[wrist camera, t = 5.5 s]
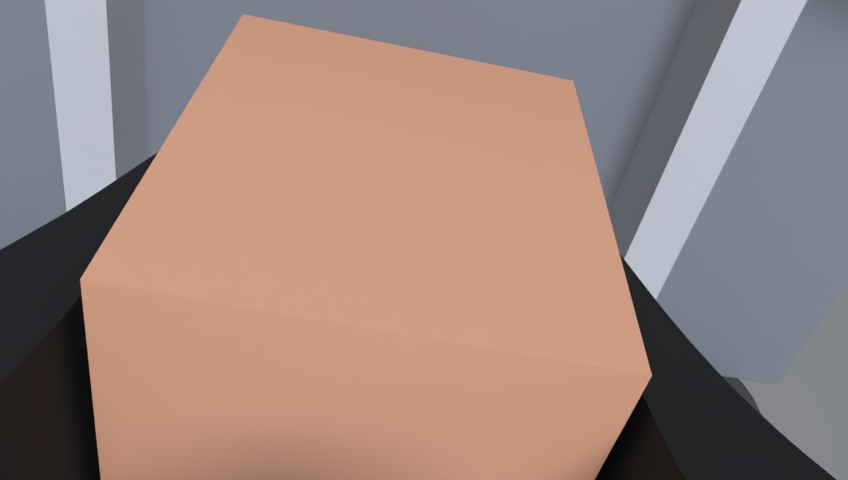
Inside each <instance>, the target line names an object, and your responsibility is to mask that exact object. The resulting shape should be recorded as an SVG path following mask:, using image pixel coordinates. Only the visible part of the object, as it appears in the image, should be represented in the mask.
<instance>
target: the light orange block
mask: <svg viewBox="0 0 848 480" xmlns="http://www.w3.org/2000/svg"><path fill="white" fill-rule="evenodd" d="M80 283H81V293H82V303H83V313H84V322H85V332H86V342H87V351H88V361H89V371H90V380H91V390H92V400H93V410H94V419H95V429H96V439H97V448H98V458H99V468H100V477H101V480H595V478H596V476H597V474H598V473H599V471H600V469H601V467H602V465H603V464H604V462H605V460H606V458H607V456H608V454H609V453H610V451H611V449H612V447H613V445H614V444H615V442H616V440H617V438H618V436H619V435H620V433H621V431H622V429H623V427H624V426H625V424H626V422H627V420H628V418H629V416H630V415H631V413H632V411H633V409H634V407H635V406H636V404H637V402H638V400H639V398H640V397H641V395H642V393H643V391H644V389H645V388H646V386H647V384H648V382H649V380H650V378H651V377H652V374H651V370H650V366H649V362H648V359H647V355H646V351H645V347H644V344H643V340H642V336H641V332H640V329H639V325H638V321H637V317H636V314H635V310H634V306H633V302H632V299H631V295H630V291H629V287H628V284H627V280H626V276H625V272H624V269H623V265H622V261H621V257H620V254H619V250H618V246H617V242H616V239H615V235H614V231H613V227H612V224H611V220H610V216H609V212H608V209H607V205H606V201H605V197H604V194H603V190H602V186H601V182H600V179H599V175H598V171H597V167H596V164H595V160H594V156H593V153H592V149H591V145H590V141H589V138H588V134H587V130H586V126H585V123H584V119H583V115H582V111H581V108H580V104H579V100H578V96H577V93H576V89H575V85H574V81H573V80H568V79H563V78H558V77H553V76H548V75H543V74H538V73H533V72H528V71H523V70H518V69H513V68H508V67H503V66H498V65H493V64H488V63H483V62H478V61H473V60H468V59H463V58H458V57H453V56H448V55H443V54H438V53H434V52H429V51H424V50H419V49H414V48H409V47H404V46H399V45H394V44H389V43H384V42H379V41H374V40H369V39H364V38H359V37H354V36H349V35H344V34H339V33H334V32H329V31H324V30H319V29H314V28H309V27H304V26H300V25H295V24H290V23H285V22H280V21H275V20H270V19H265V18H260V17H255V16H250V15H245V14H243V15H242V17H241V18H240V20H239V22H238V23H237V25H236V26H235V28H234V30H233V31H232V33H231V35H230V36H229V38H228V39H227V41H226V43H225V44H224V46H223V48H222V49H221V51H220V53H219V54H218V56H217V57H216V59H215V61H214V62H213V64H212V66H211V67H210V69H209V70H208V72H207V74H206V75H205V77H204V79H203V80H202V82H201V83H200V85H199V87H198V88H197V90H196V92H195V93H194V95H193V96H192V98H191V100H190V101H189V103H188V105H187V106H186V108H185V109H184V111H183V113H182V114H181V116H180V118H179V119H178V121H177V122H176V124H175V126H174V127H173V129H172V131H171V132H170V134H169V135H168V137H167V139H166V140H165V142H164V144H163V145H162V147H161V148H160V150H159V152H158V153H157V155H156V157H155V158H154V160H153V161H152V163H151V165H150V166H149V168H148V170H147V171H146V173H145V174H144V176H143V178H142V179H141V181H140V183H139V184H138V186H137V188H136V189H135V191H134V192H133V194H132V196H131V197H130V199H129V201H128V202H127V204H126V205H125V207H124V209H123V210H122V212H121V214H120V215H119V217H118V218H117V220H116V222H115V223H114V225H113V227H112V228H111V230H110V231H109V233H108V235H107V236H106V238H105V240H104V241H103V243H102V244H101V246H100V248H99V249H98V251H97V253H96V254H95V256H94V257H93V259H92V261H91V262H90V264H89V266H88V267H87V269H86V270H85V272H84V274H83V275H82V277H81V279H80Z"/></svg>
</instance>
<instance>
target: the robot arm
mask: <svg viewBox="0 0 848 480" xmlns="http://www.w3.org/2000/svg"><path fill="white" fill-rule="evenodd" d="M157 153H158V152H157ZM157 153H156V154H154V155H153V156H151V157H150V158H148V159H147V160H145V161H144V162H142V163H141V164H139V165H138V166H136V167H135V168H133V169H132V170H130V171H129V172H127V173H126V174H124V175H123V176H121V177H120V178H118V179H117V180H115V181H114V182H112V183H111V184H109V185H108V186H106V187H105V188H103V189H102V190H100V191H99V192H97V193H96V194H94V195H92V196H91V197H89V198H88V199H86V200H85V201H83V202H81V203H80V204H78V205H77V206H75V207H74V208H72V209H70V210H69V211H67V212H66V213H64V214H63V215H61V216H59V217H57V218H55V219H54V220H52V221H50V222H48V223H47V224H45V225H43V226H41V227H40V228H38V229H36V230H34V231H33V232H31V233H29V234H27V235H26V236H24V237H22V238H20V239H18V240H17V241H15V242H13V243H11V244H10V245H8V246H6V247H4V248H2V249H0V480H101V477H100V468H99V458H98V448H97V439H96V429H95V419H94V410H93V400H92V390H91V380H90V371H89V361H88V351H87V342H86V332H85V322H84V313H83V303H82V293H81V283H80V279H81V277H82V275H83V274H84V272H85V270H86V269H87V267H88V266H89V264H90V262H91V261H92V259H93V257H94V256H95V254H96V253H97V251H98V249H99V248H100V246H101V244H102V243H103V241H104V240H105V238H106V236H107V235H108V233H109V231H110V230H111V228H112V227H113V225H114V223H115V222H116V220H117V218H118V217H119V215H120V214H121V212H122V210H123V209H124V207H125V205H126V204H127V202H128V201H129V199H130V197H131V196H132V194H133V192H134V191H135V189H136V188H137V186H138V184H139V183H140V181H141V179H142V178H143V176H144V174H145V173H146V171H147V170H148V168H149V166H150V165H151V163H152V161H153V160H154V158H155V157H156V155H157ZM619 254H620V253H619ZM620 257H621V261H622V265H623V269H624V272H625V276H626V280H627V284H628V287H629V291H630V295H631V299H632V302H633V306H634V310H635V314H636V317H637V321H638V325H639V329H640V332H641V336H642V340H643V344H644V347H645V351H646V355H647V359H648V362H649V366H650V370H651V374H652V377H651V378H650V380H649V382H648V384H647V386H646V388H645V389H644V391H643V393H642V395H641V397H640V398H639V400H638V402H637V404H636V406H635V407H634V409H633V411H632V413H631V415H630V416H629V418H628V420H627V422H626V424H625V426H624V427H623V429H622V431H621V433H620V435H619V436H618V438H617V440H616V442H615V444H614V445H613V447H612V449H611V451H610V453H609V454H608V456H607V458H606V460H605V462H604V464H603V465H602V467H601V469H600V471H599V473H598V474H597V476H596V478H595V480H836V479H835V478H834V477H832V476H831V475H830V474H829V473H827V472H826V471H825V470H824V469H822V468H821V467H820V466H819V465H818V464H816V463H815V462H814V461H813V460H812V459H810V458H809V457H808V456H806V454H804V453H803V452H802V451H801V450H799V449H798V448H797V447H796V446H795V445H794V444H793V443H792V442H790V441H789V440H788V439H787V438H786V437H785V436H784V435H782V434H781V433H780V432H779V431H778V430H777V429H775V427H773V426H772V425H771V424H770V423H769V422H768V421H767V420H766V419H765V418H764V417H763V416H762V415H761V414H760V413H759V412H758V411H757V410H756V409H755V408H753V407H752V406H751V405H750V404H749V403H748V402H747V401H746V400H745V399H744V398H743V397H742V396H741V395H740V394H739V393H738V392H737V391H736V390H735V389H734V388H733V387H732V386H731V385H730V384H729V383H728V382H727V381H726V380H725V379H724V378H723V377H722V376H721V375H720V374H719V373H718V372H717V370H716V369H715V368H714V367H713V366H712V365H711V364H710V363H709V362H708V361H707V359H706V358H705V357H704V356H703V355H702V354H701V353H700V352H699V351H698V350H697V348H696V347H695V346H694V345H693V344H692V343H691V342H690V341H689V339H688V338H687V337H686V336H685V335H684V334H683V332H682V331H681V330H680V329H679V328H678V327H677V325H676V324H675V323H674V322H673V321H672V319H671V318H670V317H669V316H668V315H667V313H666V312H665V311H664V310H663V308H662V307H661V306H660V305H659V303H658V302H657V301H656V300H655V298H654V297H653V296H652V295H651V293H650V292H649V291H648V289H647V288H646V287H645V286H644V284H643V283H642V282H641V280H640V279H639V278H638V276H637V275H636V274H635V273H634V271H633V270H632V269H631V267H630V266H629V265H628V263H627V262H626V261H625V260H624V258H623V257H622V256H621V254H620Z"/></svg>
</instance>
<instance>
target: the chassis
mask: <svg viewBox="0 0 848 480" xmlns="http://www.w3.org/2000/svg"><path fill="white" fill-rule="evenodd" d="M243 14H245V15H250V16H255V17H260V18H265V19H270V20H275V21H280V22H285V23H290V24H295V25H300V26H304V27H309V28H314V29H319V30H324V31H329V32H334V33H339V34H344V35H349V36H354V37H359V38H364V39H369V40H374V41H379V42H384V43H389V44H394V45H399V46H404V47H409V48H414V49H419V50H424V51H429V52H434V53H438V54H443V55H448V56H453V57H458V58H463V59H468V60H473V61H478V62H483V63H488V64H493V65H498V66H503V67H508V68H513V69H518V70H523V71H528V72H533V73H538V74H543V75H548V76H553V77H558V78H563V79H568V80H573V81H574V85H575V89H576V93H577V96H578V100H579V104H580V108H581V111H582V115H583V119H584V123H585V126H586V130H587V134H588V138H589V141H590V145H591V149H592V153H593V156H594V160H595V164H596V167H597V171H598V175H599V179H600V182H601V186H602V190H603V194H604V197H605V201H606V205H607V209H608V212H609V216H610V220H611V224H612V227H613V231H614V235H615V239H616V242H617V246H618V250H619V253H620V254H621V256H622V257H623V258H624V260H625V261H626V262H627V263H628V265H629V266H630V267H631V269H632V270H633V271H634V273H635V274H636V275H637V276H638V278H639V279H640V280H641V282H642V283H643V284H644V286H645V287H646V288H647V289H648V291H649V292H650V293H651V295H652V296H653V297H654V298H655V300H656V301H657V302H658V303H659V305H660V306H661V307H662V308H663V310H664V311H665V312H666V313H667V315H668V316H669V317H670V318H671V319H672V321H673V322H674V323H675V324H676V325H677V327H678V328H679V329H680V330H681V331H682V332H683V334H684V335H685V336H686V337H687V338H688V339H689V341H690V342H691V343H692V344H693V345H694V346H695V347H696V348H697V350H698V351H699V352H700V353H701V354H702V355H703V356H704V357H705V358H706V359H707V361H708V362H709V363H710V364H711V365H712V366H713V367H714V368H715V369H716V370H717V372H718V373H719V374H720V375H721V376H722V377H723V378H724V379H725V380H726V381H727V382H728V383H729V384H730V385H731V386H732V387H733V388H734V389H735V390H736V391H737V392H738V393H739V394H740V395H741V396H742V397H743V398H744V399H745V400H746V401H747V402H748V403H749V404H750V405H751V406H752V407H753V408H755V409H756V410H757V411H758V412H759V413H760V411H759V409H758V407H757V405H756V403H755V401H754V399H753V398H752V396H751V394H750V393H749V391H748V390H747V389H746V387H745V386H744V385H743V384H742V382H741V381H740V380H739V379H743V380H749V381H755V382H761V383H767V384H772V385H777V383H778V382H779V381H780V379H781V378H782V376H783V375H784V373H785V372H786V370H787V369H788V367H789V366H790V365H791V363H792V362H793V360H794V359H795V357H796V356H797V355H798V353H799V352H800V350H801V349H802V347H803V346H804V344H805V343H806V342H807V340H808V339H809V337H810V336H811V334H812V333H813V331H814V330H815V329H816V327H817V326H818V324H819V323H820V321H821V320H822V318H823V317H824V316H825V314H826V313H827V311H828V310H829V308H830V307H831V306H832V304H833V303H834V301H835V300H836V298H837V297H838V295H839V294H840V293H841V291H842V290H843V288H844V287H845V285H846V284H847V283H848V0H0V249H2V248H4V247H6V246H8V245H10V244H11V243H13V242H15V241H17V240H18V239H20V238H22V237H24V236H26V235H27V234H29V233H31V232H33V231H34V230H36V229H38V228H40V227H41V226H43V225H45V224H47V223H48V222H50V221H52V220H54V219H55V218H57V217H59V216H61V215H63V214H64V213H66V212H67V211H69V210H70V209H72V208H74V207H75V206H77V205H78V204H80V203H81V202H83V201H85V200H86V199H88V198H89V197H91V196H92V195H94V194H96V193H97V192H99V191H100V190H102V189H103V188H105V187H106V186H108V185H109V184H111V183H112V182H114V181H115V180H117V179H118V178H120V177H121V176H123V175H124V174H126V173H127V172H129V171H130V170H132V169H133V168H135V167H136V166H138V165H139V164H141V163H142V162H144V161H145V160H147V159H148V158H150V157H151V156H153V155H154V154H156V153H157V152H159V150H160V148H161V147H162V145H163V144H164V142H165V140H166V139H167V137H168V135H169V134H170V132H171V131H172V129H173V127H174V126H175V124H176V122H177V121H178V119H179V118H180V116H181V114H182V113H183V111H184V109H185V108H186V106H187V105H188V103H189V101H190V100H191V98H192V96H193V95H194V93H195V92H196V90H197V88H198V87H199V85H200V83H201V82H202V80H203V79H204V77H205V75H206V74H207V72H208V70H209V69H210V67H211V66H212V64H213V62H214V61H215V59H216V57H217V56H218V54H219V53H220V51H221V49H222V48H223V46H224V44H225V43H226V41H227V39H228V38H229V36H230V35H231V33H232V31H233V30H234V28H235V26H236V25H237V23H238V22H239V20H240V18H241V17H242V15H243Z"/></svg>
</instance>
